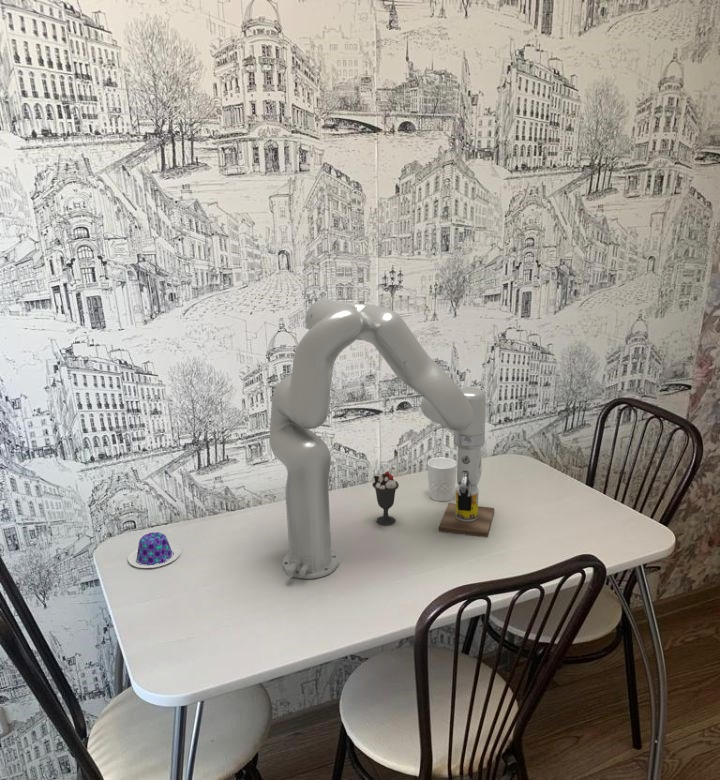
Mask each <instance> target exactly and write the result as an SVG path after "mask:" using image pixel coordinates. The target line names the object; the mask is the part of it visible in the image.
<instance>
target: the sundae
mask: <svg viewBox="0 0 720 780" xmlns="http://www.w3.org/2000/svg"><path fill="white" fill-rule="evenodd" d="M394 469H395V467H393V466H391V468H390V469H389V470H388V471H385V473H382V474H381V475H380V476H379V475H374V476H373V480H374V482H372V485H371V486H372V488H374V489H375V494H376V495H375V496H376V501H377V505H378V507H380V508H381V509H383V514H382V516H379V517H377V519H376V520H375V521H376V523H377V524H378V525H381V526H391V525H393V524H395V523H396V519H395V518H394V517H393V516H389V509H391V508H392V507H393V506H394V504H395V503H394V502H395V497H396V491H397V489H399V483H398V481H396V480H395V479H394V475H392V474H391V473H392V470H394Z"/></svg>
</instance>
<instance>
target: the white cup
mask: <svg viewBox="0 0 720 780" xmlns="http://www.w3.org/2000/svg"><path fill="white" fill-rule="evenodd" d="M427 479H428V481H427V482H428V488H429V489H428V491H429V498H430V499H431V500H433V501H436V502H449V501H452V500H453V499H454V498H455V490H456V483H457V461H456V460H455V459H453V458H451V457H450V458H449V457H444V456H443V457H441V456H439V457H433V458H430V459H429V460H428V461H427Z"/></svg>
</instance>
